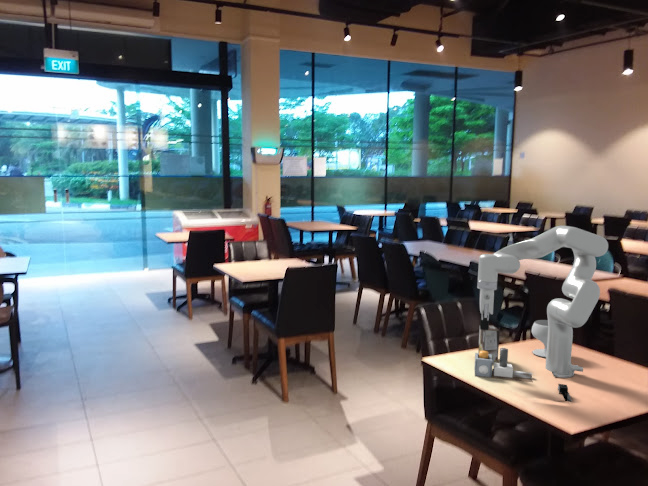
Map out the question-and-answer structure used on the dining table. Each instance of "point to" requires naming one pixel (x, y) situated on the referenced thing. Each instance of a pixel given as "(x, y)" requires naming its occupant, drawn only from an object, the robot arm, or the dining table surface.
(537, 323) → the chalice
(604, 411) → the dining table surface
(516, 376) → the rail board
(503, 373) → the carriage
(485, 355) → the button
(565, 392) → the black slotted bracket
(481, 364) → the grey open box
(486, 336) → the coffee box
